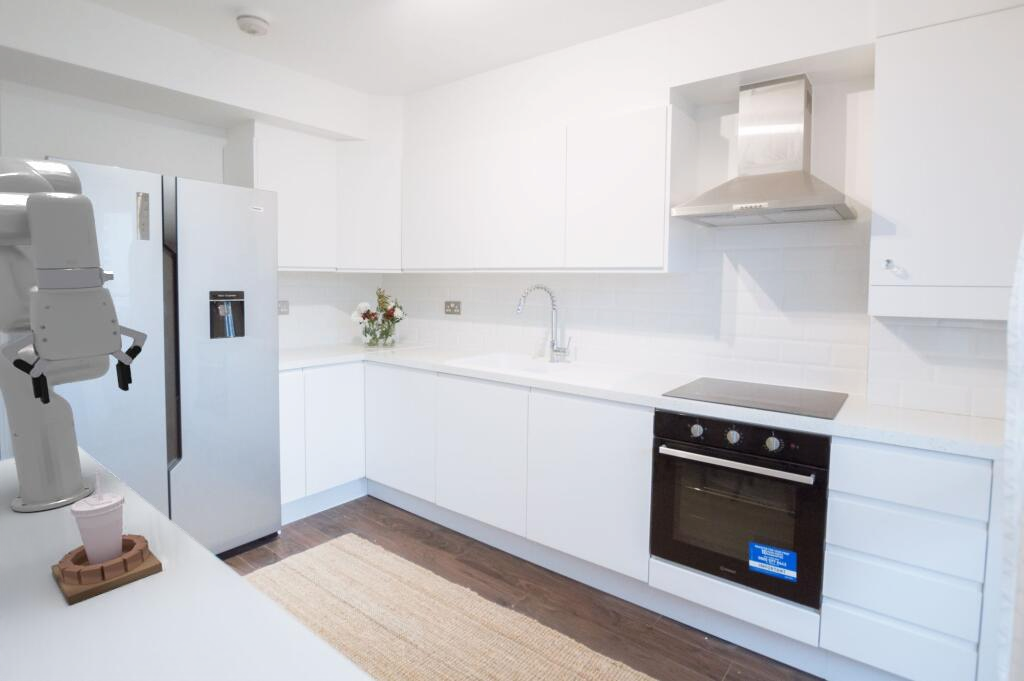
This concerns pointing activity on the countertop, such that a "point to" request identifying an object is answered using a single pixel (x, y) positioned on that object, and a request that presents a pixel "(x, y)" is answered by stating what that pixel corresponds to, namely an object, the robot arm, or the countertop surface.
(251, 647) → the countertop surface
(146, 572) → the ring board
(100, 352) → the robot arm
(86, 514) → the smoothie
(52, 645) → the countertop surface
